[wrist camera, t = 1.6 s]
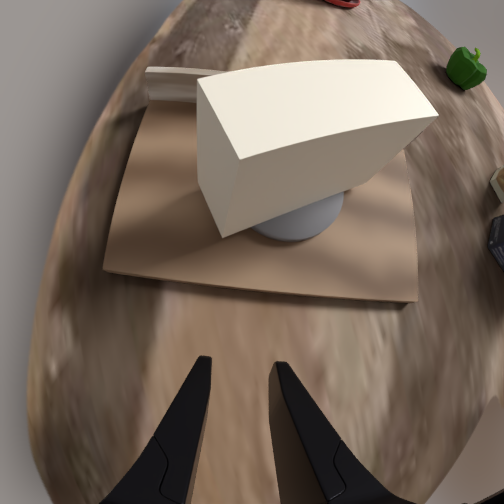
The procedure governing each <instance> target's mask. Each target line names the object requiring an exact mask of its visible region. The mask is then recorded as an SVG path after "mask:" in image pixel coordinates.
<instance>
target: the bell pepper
mask: <svg viewBox="0 0 504 504" xmlns="http://www.w3.org/2000/svg"><path fill="white" fill-rule="evenodd" d="M475 51H476V55H474V54H472V53H470V52H469V51H468V49H467V48H466V47H460V48H457V49H456V50H455V52H454V53H453V54H452V55H451V57H450V59H449V62H448V64H447V68H446V73H447V75H448V77H449V78H450V79H451V80H452V81H453V82H454V83H455V84H457V85H459V86H460V87H461V88H462V89H463V90H468V89H470V88H473V87H475V86H477V85H479V84H480V83H482V82H483V81H484V80H485V78H486V73H487V70H486V68H485V67H484V66H483V65H482V64H480V63H479V61H478V58H479V57H480V51H479V49H477V48H475Z"/></svg>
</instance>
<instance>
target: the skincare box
mask: <svg viewBox="0 0 504 504" xmlns="http://www.w3.org/2000/svg"><path fill="white" fill-rule="evenodd" d="M490 183H491V185H492V187H493V188H494V190H495V192H496V194H497V196H498V198H499V199H500V201H501V203H503V202H504V165H503V166H501V167H500V168H498V169H497V170H496V171H495V173H494V175H493V176H492V178H491V180H490Z"/></svg>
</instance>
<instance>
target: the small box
mask: <svg viewBox="0 0 504 504" xmlns="http://www.w3.org/2000/svg"><path fill="white" fill-rule="evenodd" d="M488 249H489V250H490V251H491V253H492V254H493V256H494V257H495V259H496V260H497V262H498V263H499V265H500V266H501V268H502V270H503V271H504V215H501V216H499V217H495V218H493V224H492V229H491V234H490V237H489V243H488Z"/></svg>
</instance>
